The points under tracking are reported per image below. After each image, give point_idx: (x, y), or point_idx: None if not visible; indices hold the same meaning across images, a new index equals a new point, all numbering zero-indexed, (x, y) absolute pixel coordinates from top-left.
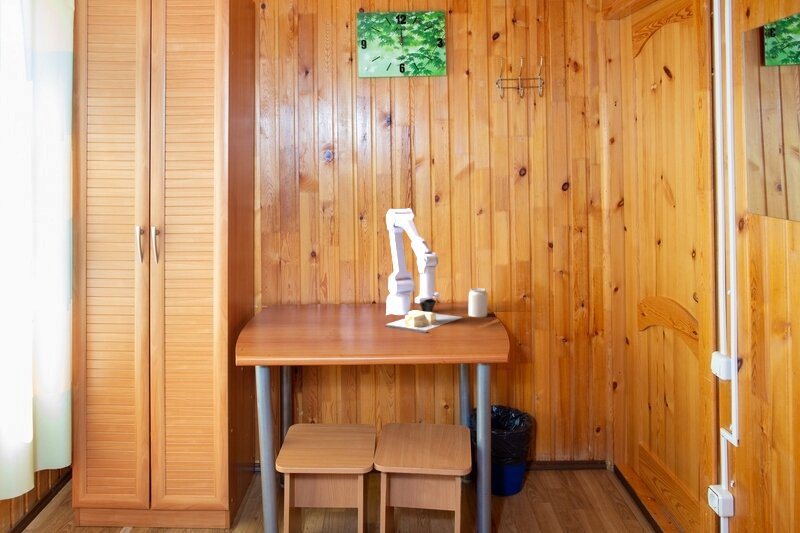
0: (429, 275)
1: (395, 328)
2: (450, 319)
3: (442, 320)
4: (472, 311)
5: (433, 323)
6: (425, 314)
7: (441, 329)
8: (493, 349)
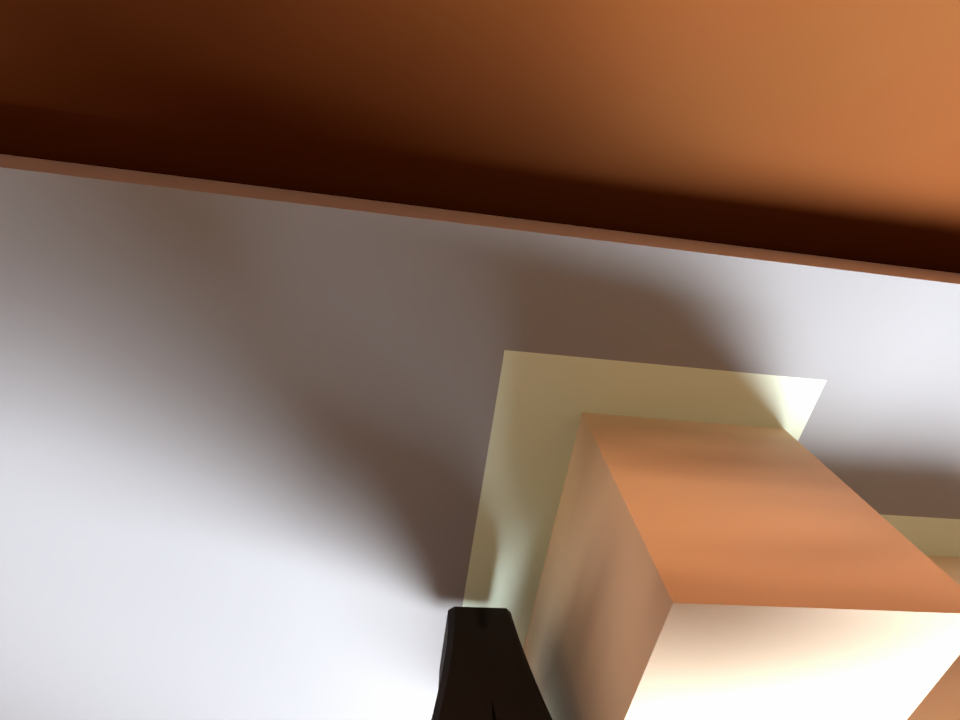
0: None
1: None
2: (26, 301)
3: (261, 412)
4: None
5: (686, 428)
6: (889, 718)
7: (797, 177)
8: None
